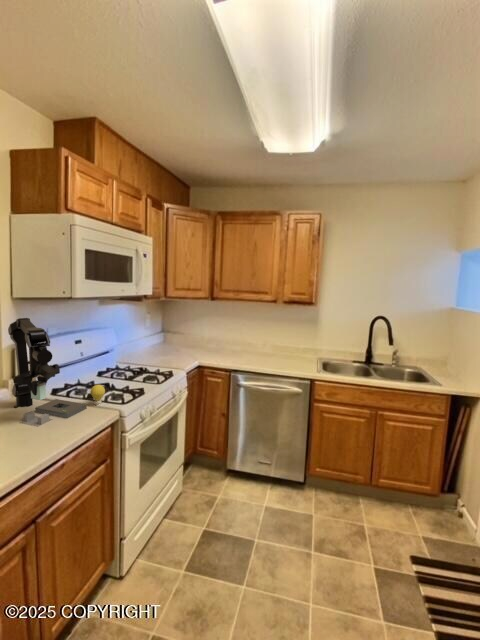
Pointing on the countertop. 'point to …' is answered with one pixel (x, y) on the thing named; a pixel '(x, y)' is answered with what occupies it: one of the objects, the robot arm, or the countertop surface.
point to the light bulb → (97, 393)
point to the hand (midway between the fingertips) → (38, 394)
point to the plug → (40, 391)
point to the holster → (35, 419)
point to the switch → (57, 405)
